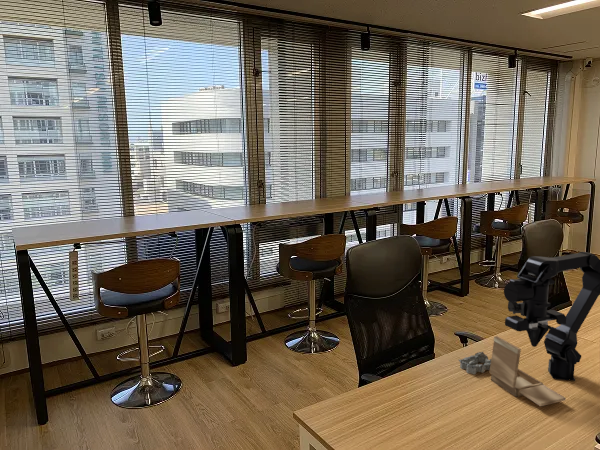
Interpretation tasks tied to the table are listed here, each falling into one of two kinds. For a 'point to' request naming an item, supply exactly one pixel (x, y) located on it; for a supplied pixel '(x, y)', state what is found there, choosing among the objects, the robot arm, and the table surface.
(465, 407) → the table surface
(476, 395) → the table surface
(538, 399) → the carton
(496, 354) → the flap
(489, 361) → the egg carton
